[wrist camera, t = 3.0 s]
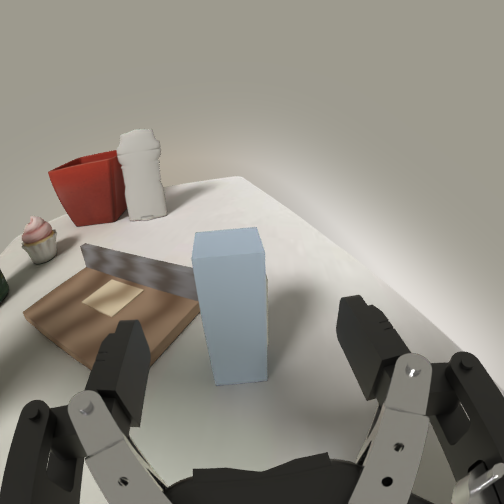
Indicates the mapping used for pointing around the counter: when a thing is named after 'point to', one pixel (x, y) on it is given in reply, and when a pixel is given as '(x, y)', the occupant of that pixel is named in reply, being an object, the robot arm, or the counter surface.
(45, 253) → the cupcake
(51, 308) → the shelf
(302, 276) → the counter surface
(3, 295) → the coffee jar
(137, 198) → the tall pale column
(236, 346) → the carton
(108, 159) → the plant pot
